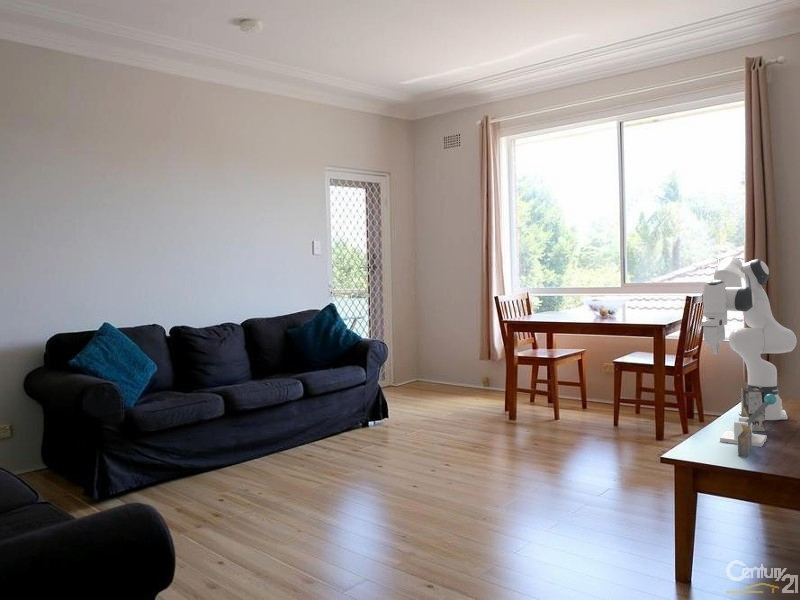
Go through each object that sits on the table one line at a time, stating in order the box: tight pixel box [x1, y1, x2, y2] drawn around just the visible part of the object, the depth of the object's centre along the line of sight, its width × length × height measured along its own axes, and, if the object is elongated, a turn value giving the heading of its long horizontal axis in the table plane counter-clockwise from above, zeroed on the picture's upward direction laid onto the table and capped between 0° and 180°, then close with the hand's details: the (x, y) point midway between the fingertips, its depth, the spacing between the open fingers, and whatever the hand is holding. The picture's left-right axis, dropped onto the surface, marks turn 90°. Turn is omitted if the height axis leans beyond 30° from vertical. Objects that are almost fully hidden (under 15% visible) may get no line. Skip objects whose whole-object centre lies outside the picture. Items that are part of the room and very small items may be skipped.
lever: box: [745, 394, 777, 427], centre depth 243 cm, size 6×4×18 cm
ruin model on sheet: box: [737, 424, 753, 458], centre depth 231 cm, size 11×3×10 cm, turn 143°
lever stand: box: [719, 416, 768, 448], centre depth 246 cm, size 12×14×8 cm
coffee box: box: [740, 387, 766, 432], centre depth 262 cm, size 9×6×16 cm
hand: (715, 354), depth 262 cm, fingers closed
